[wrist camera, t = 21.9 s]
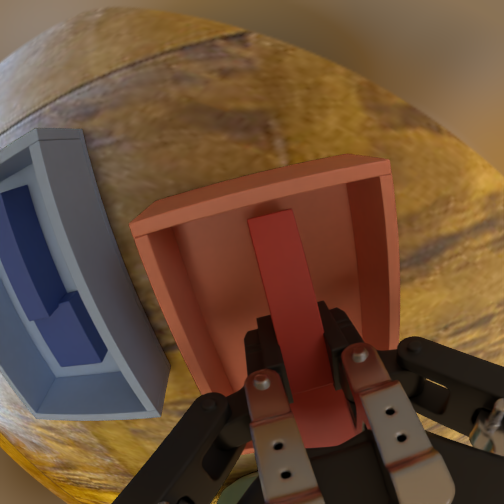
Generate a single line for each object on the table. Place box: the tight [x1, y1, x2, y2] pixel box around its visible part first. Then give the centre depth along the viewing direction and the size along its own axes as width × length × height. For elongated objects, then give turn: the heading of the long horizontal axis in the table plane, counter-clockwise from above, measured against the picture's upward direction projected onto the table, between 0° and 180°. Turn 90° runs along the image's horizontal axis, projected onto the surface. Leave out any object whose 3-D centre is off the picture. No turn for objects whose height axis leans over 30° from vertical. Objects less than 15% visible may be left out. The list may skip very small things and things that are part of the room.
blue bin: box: [0, 128, 171, 421], centre depth 14 cm, size 15×10×4 cm
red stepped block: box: [247, 208, 355, 448], centre depth 12 cm, size 11×4×3 cm, turn 14°
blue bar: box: [0, 185, 108, 367], centre depth 14 cm, size 11×4×3 cm, turn 13°
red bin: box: [129, 154, 400, 455], centre depth 15 cm, size 15×10×4 cm
